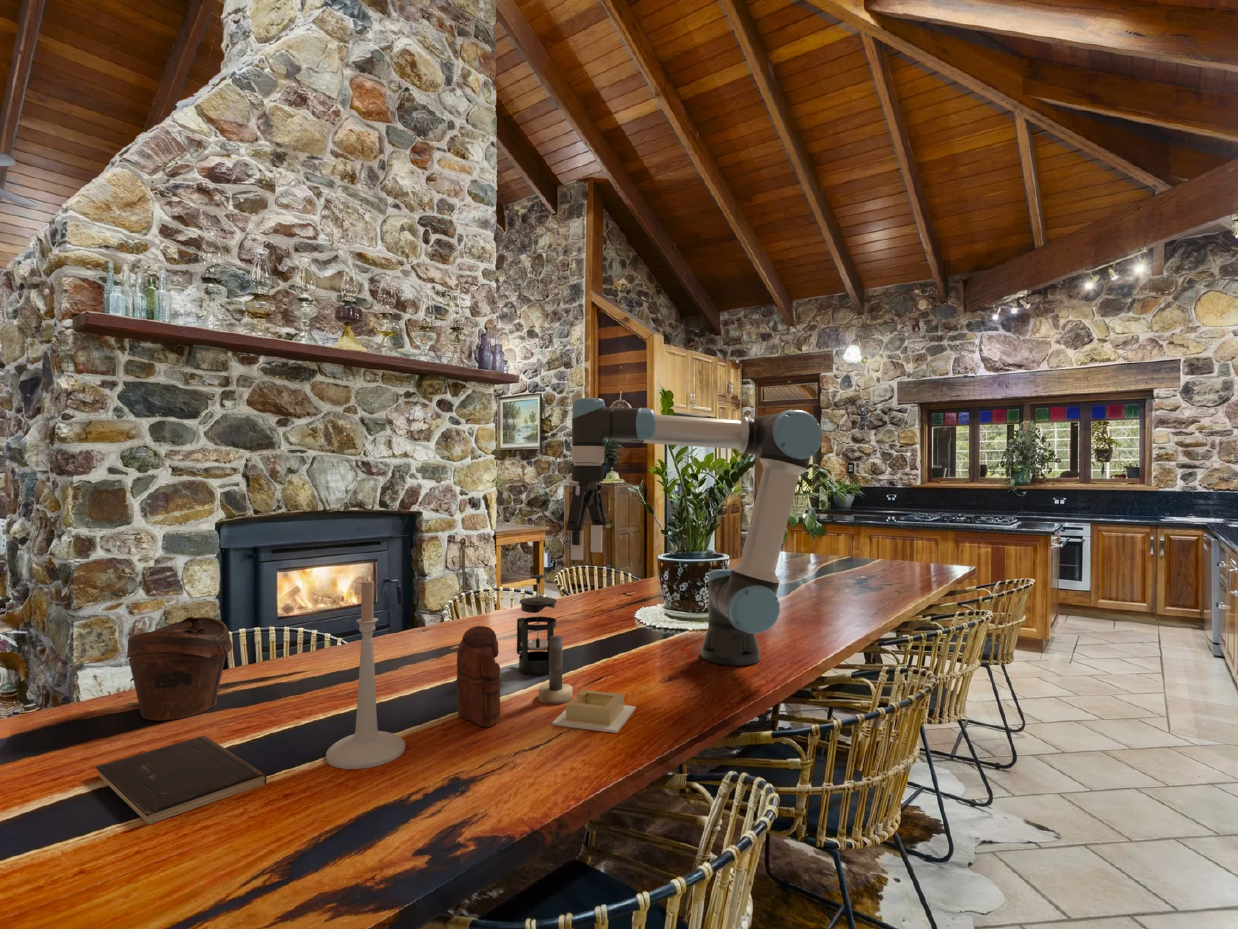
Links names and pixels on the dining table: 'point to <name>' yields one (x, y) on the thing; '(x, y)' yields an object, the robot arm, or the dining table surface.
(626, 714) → the felt mat
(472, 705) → the wooden figurine
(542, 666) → the french press
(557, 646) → the peg stand
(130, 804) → the hardcover book
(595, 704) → the brass C-link
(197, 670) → the case
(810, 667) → the dining table surface
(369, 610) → the candlestick
